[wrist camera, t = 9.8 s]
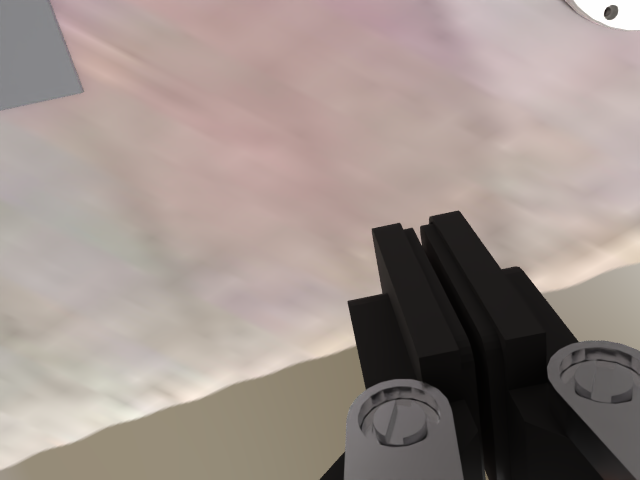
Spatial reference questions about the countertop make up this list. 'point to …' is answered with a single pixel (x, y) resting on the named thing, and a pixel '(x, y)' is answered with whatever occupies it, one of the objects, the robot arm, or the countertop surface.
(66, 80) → the mat
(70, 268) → the countertop surface
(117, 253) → the countertop surface
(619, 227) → the countertop surface
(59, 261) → the countertop surface
